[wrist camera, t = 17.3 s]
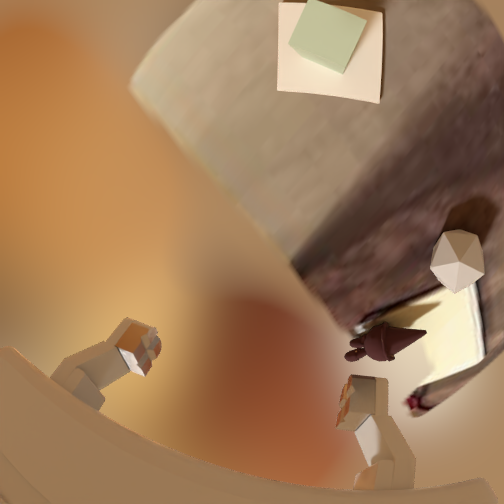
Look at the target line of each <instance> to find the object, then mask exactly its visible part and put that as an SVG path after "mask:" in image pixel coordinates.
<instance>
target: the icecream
mask: <svg viewBox="0 0 504 504" xmlns="http://www.w3.org/2000/svg"><path fill="white" fill-rule="evenodd" d="M425 334H427V332H426V330H417V329H406V328H396V327H389V325H388V323H387V322H385V323H383V324H382V325H378V326H374V327H373V328H372V329H371V330H370V331H369V333H368V334H367V335H366V334H365V335H363V336H362V338H356V339H353V340H351V341H350V346H351V347H354V348H357V349H355V350H352V351H349V352H347V353H346V354H345V356H344V357H345V359H346V360H347V361H350V362H353V361H357V360H359V359H360V358H362V357H364V356H365V355H368V356H369V357H371V358H372V359H374V360H377V361H386V360H388V361H392V360H394V359H395V357H394V354H396V353H397V352H399V351H401V350H402V349H404V348H405V347H407V346H409V345H410V344H412V343H413V342H415V341H416V340H418V339H419V338H421V337H422V336H424V335H425ZM362 347H364V348H362Z"/></svg>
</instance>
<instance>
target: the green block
mask: <svg viewBox="0 0 504 504" xmlns="http://www.w3.org/2000/svg"><path fill="white" fill-rule="evenodd" d="M366 22H367V21H366V20H364V19H362V18H360V17H358V16H356V15H353V14H351V13H349V12H346V11H344V10H341V9H339V8H336V7H334V6H331V5H329V4H326V3H323V2H320V1H317V0H308V1H307V3H306V5H305V7H304V9H303V12H302V14H301V16H300V18H299V20H298V22H297V25H296V27H295V29H294V31H293V33H292V36H291V38H290V40H289V42H288V44H289V45H290V46H291V47H292V48H293V49H294V50H295V51H296V52H297V53H298V54H299V55H300V56H301V57H303V58H305V59H308V60H310V61H313V62H315V63H317V64H320V65H322V66H324V67H327V68H329V69H331V70H333V71H335V72H338V73H340V74H342V75H343V73H344V71H345V69H346V67H347V64H348V62H349V60H350V58H351V56H352V54H353V52H354V50H355V47H356V45H357V43H358V41H359V39H360V36H361V34H362V32H363V29H364V27H365V25H366Z"/></svg>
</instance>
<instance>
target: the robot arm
mask: <svg viewBox="0 0 504 504" xmlns="http://www.w3.org/2000/svg"><path fill="white" fill-rule="evenodd" d="M157 333H158V332H157V330H156V328H155V327H152V326H149V325H146V324H144V323H141V322H138V321H136V320H133V319H130V318H128V317H127V318H125V319H123V321H122V322H121V323H120V324H119V325H118V327H117V328H116V329H115V331H114V332H113V333H112V334H111V336H110V337H109V338H108V339H107V341H106V342H105V341H102V342H100V343H98V344H96V345H94V346H91V347H89V348H87V349H84V350H82V351H80V352H78V353H76V354H73V355H71V356H69V357H67V358H65V359H64V360H63V361H62V362H61V364H60V365H59V366H58V368H57V369H56V370H55V372H54V373H53V374H52V376H51V377H50V378H49V377H48V376H47V375H45V374H44V373H43V372H41V371H40V370H39V369H38V368H37V367H36V366H34V365H33V364H32V363H31V362H29V361H28V360H27V359H26V358H25V357H24V356H23V355H22V354H20V353H19V352H18V351H17V350H16V349H15V348H14V347H12V346H7V347H3V348H0V504H498V499H497V496H496V494H495V492H494V491H493V489H492V487H491V486H490V485H489V483H488V482H487V481H486V480H485V479H484V478H477V479H472V480H468V481H463V482H458V483H453V484H447V485H440V486H433V487H425V488H416V489H413V488H414V478H415V466H416V458H415V456H414V454H413V453H412V451H411V449H410V447H409V446H408V444H407V442H406V440H405V439H404V437H403V435H402V434H401V432H400V430H399V429H398V427H397V425H396V423H395V422H394V420H393V418H392V417H391V416H388V380H387V379H386V378H377V377H370V376H360V375H352V374H351V375H350V376H349V378H348V383H347V384H345V385H344V387H343V389H342V392H341V395H340V401H339V406H340V408H341V410H340V412H339V413H338V415H337V421H336V429H341V430H348V431H355V434H356V437H357V439H358V442H359V444H360V446H361V449H362V451H363V453H364V456H365V458H366V461H367V463H368V466H369V467H368V468H366V469H365V470H363V471H361V472H359V473H358V474H356V477H355V482H354V487H353V490H344V489H330V488H320V487H312V486H304V485H298V484H291V483H286V482H280V481H275V480H270V479H265V478H261V477H256V476H253V475H249V474H245V473H241V472H237V471H234V470H230V469H227V468H224V467H220V466H217V465H214V464H211V463H208V462H205V461H202V460H199V459H197V458H194V457H191V456H189V455H186V454H183V453H181V452H178V451H176V450H173V449H171V448H169V447H166V446H164V445H162V444H159V443H157V442H155V441H153V440H151V439H149V438H147V437H145V436H142V435H140V434H138V433H136V432H134V431H132V430H130V429H129V428H127V427H125V426H123V425H121V424H119V423H117V422H116V421H114V420H112V419H110V418H109V417H107V416H105V415H104V414H102V413H100V412H99V409H100V408H101V406H102V405H103V403H104V401H105V397H104V396H103V395H102V394H101V392H100V391H99V390H101V389H103V388H104V387H106V386H108V385H109V384H111V383H112V382H114V381H116V380H117V379H119V378H120V377H122V376H124V375H125V374H127V373H129V372H130V371H132V372H135V373H137V374H140V375H142V376H146V375H147V373H148V371H149V370H150V368H151V367H152V360H154V359H156V358H157V357H158V355H159V354H160V351H161V340H160V338H158V336H157Z"/></svg>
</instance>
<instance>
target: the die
mask: <svg viewBox="0 0 504 504" xmlns="http://www.w3.org/2000/svg"><path fill="white" fill-rule="evenodd" d="M430 269H431V270H432V271H433V273H434V274H435V276H436V277H437V278H438V280H439V281H440V282H441V283H442V284H443V285H445V286H446V287H447V288H448V289H449V290H451V291H452V292H453V293H454V294H455V293H457V292H459V291H461V290H462V289H464V288H466V287H468V286H470V285H471V284H472V283H474V282H475V281H476V280H478V279H479V278H480V277H481V276H483V275H484V260H483V251H482V248H481V245H480V242H479V239H478V236H477V235H475V234H472V233H469V232H466V231H463V230H461V229H458V230H452V231H447V232H443V234H442V235H441V237H440V238H439V240H438V241H437V243H436V244H435V246H434V247H433V253H432V259H431V265H430Z"/></svg>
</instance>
